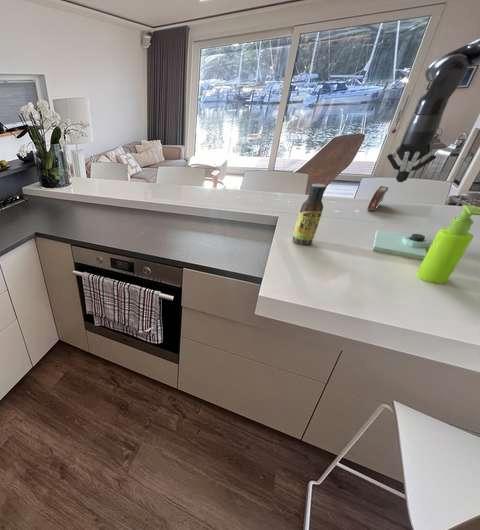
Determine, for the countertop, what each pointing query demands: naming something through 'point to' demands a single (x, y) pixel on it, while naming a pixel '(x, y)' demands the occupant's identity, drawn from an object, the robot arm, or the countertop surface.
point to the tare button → (417, 237)
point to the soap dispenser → (448, 248)
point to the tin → (377, 197)
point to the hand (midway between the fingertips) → (400, 181)
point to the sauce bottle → (309, 215)
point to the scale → (399, 244)
